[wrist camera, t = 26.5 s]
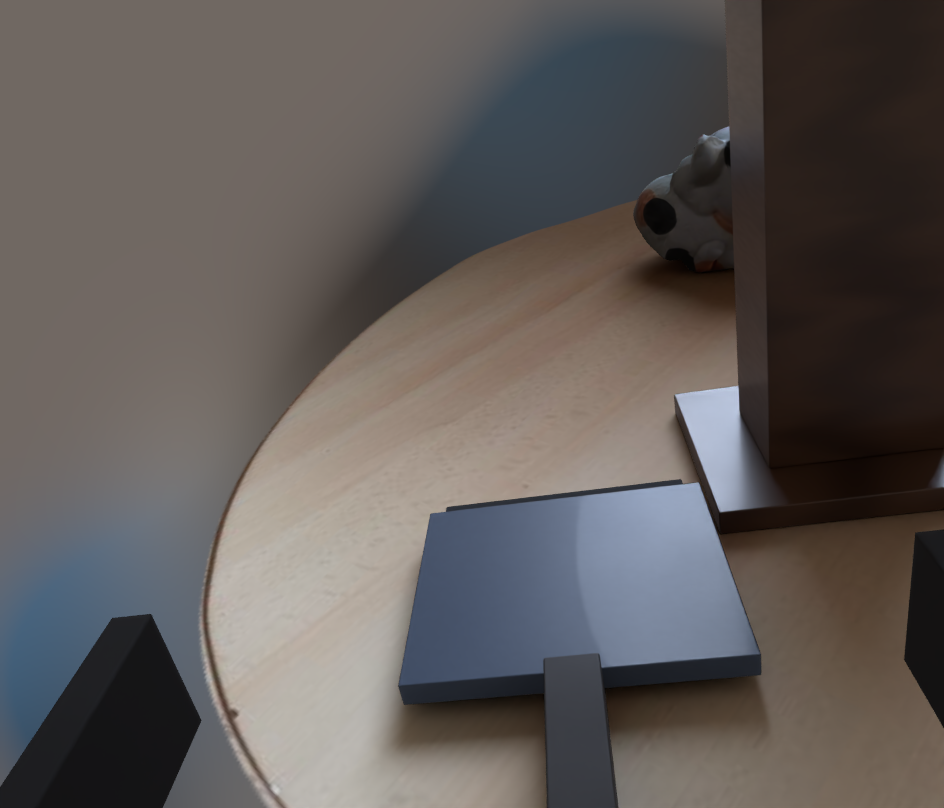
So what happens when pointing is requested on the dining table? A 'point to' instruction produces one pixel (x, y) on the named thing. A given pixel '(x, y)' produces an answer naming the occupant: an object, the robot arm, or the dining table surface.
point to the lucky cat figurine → (692, 208)
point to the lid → (575, 615)
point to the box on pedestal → (831, 267)
